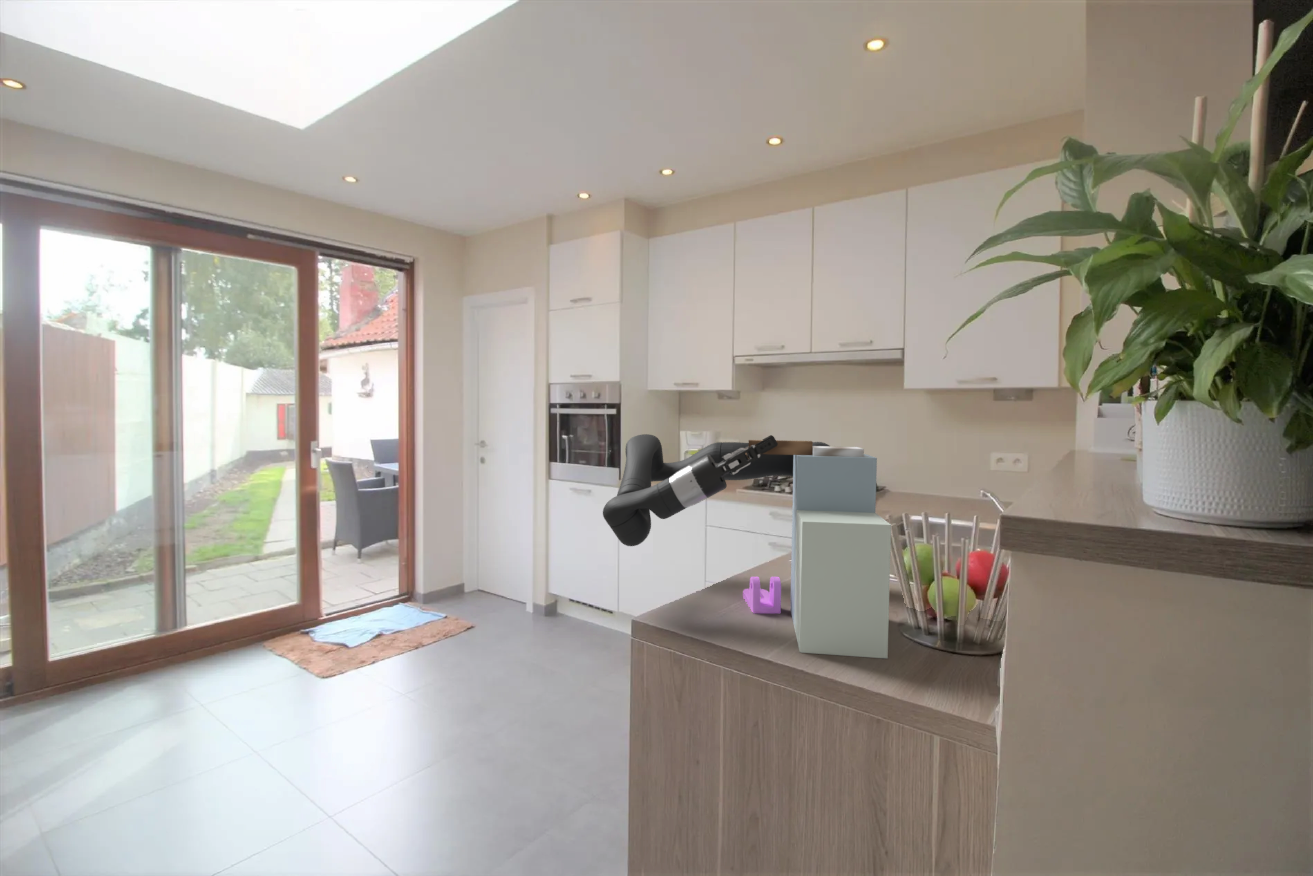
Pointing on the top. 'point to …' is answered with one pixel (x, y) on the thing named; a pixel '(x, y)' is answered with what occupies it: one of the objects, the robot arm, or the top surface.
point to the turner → (810, 449)
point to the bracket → (763, 596)
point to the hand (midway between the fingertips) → (774, 439)
